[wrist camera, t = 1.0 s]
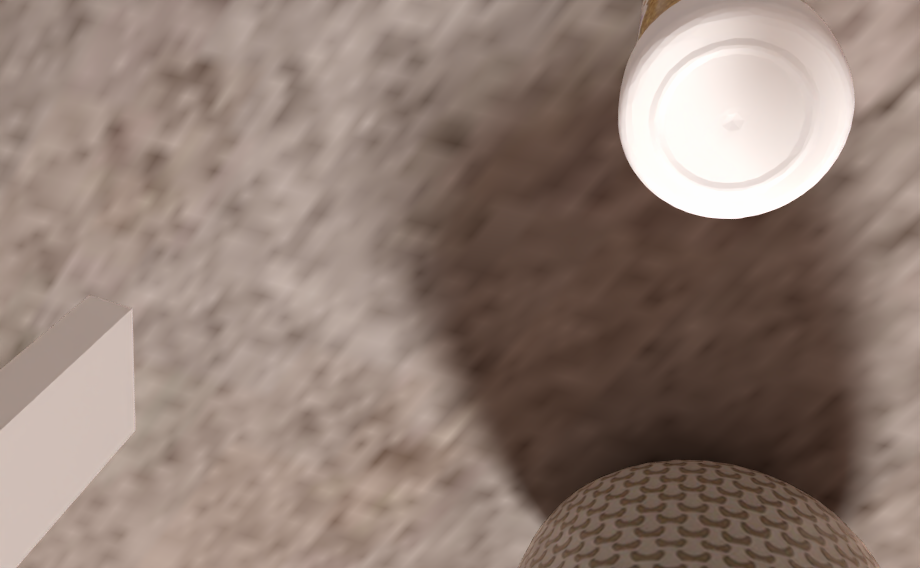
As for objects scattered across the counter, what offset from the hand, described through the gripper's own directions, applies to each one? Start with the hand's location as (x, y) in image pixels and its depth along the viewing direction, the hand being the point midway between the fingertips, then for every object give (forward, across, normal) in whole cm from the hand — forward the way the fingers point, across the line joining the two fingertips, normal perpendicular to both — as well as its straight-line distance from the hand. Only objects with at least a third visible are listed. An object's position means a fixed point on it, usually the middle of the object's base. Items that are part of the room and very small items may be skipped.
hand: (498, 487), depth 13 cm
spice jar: (+20, +2, +5) cm, 21 cm away
